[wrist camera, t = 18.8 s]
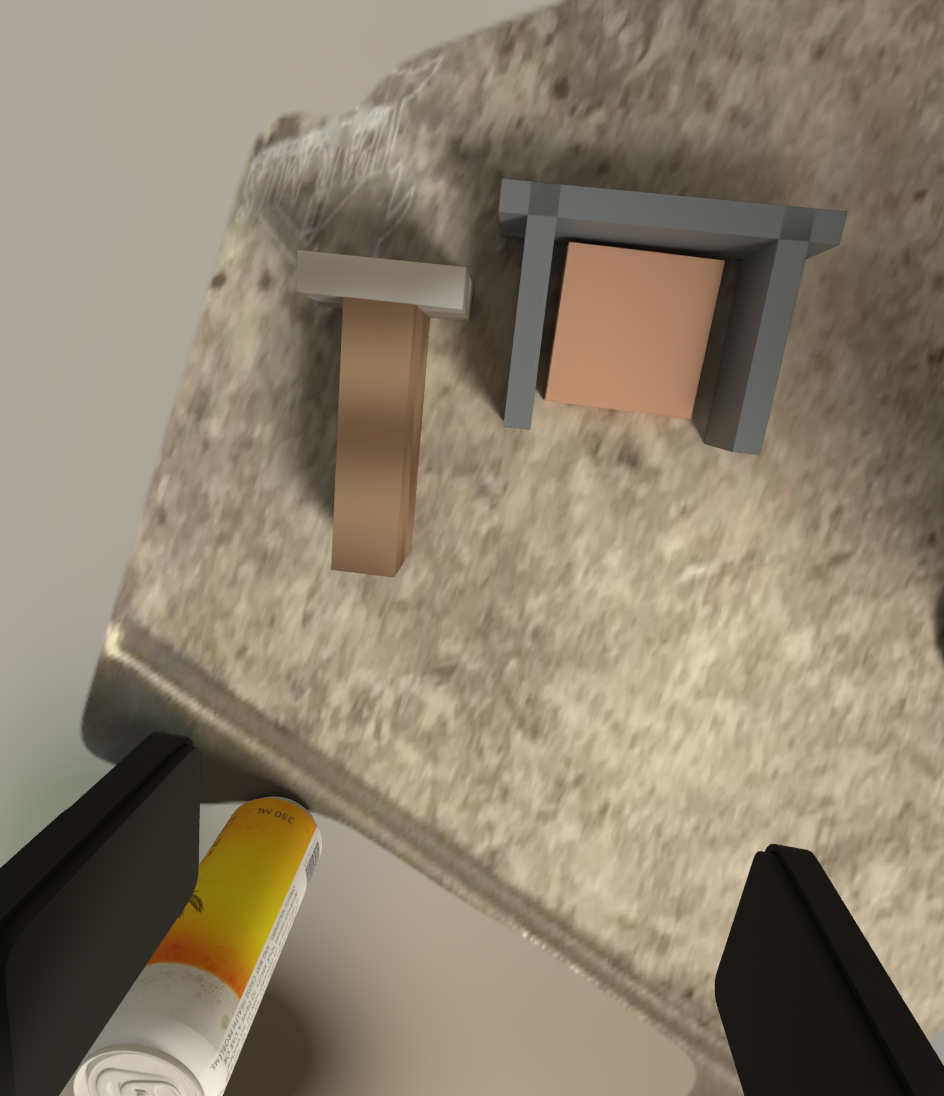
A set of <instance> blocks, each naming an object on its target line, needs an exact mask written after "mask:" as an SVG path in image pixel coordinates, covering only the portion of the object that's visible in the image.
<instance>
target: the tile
mask: <svg viewBox="0 0 944 1096" xmlns="http://www.w3.org/2000/svg"><path fill="white" fill-rule="evenodd" d="M724 263H725V261H724V260H716V259H707V258H699V257H691V256H682V255H674V254H666V253H657V252H649V251H641V250H632V249H624V248H616V247H607V246H599V245H591V244H582V243H574V242H569V244H568V247H567V249H566V255H565V262H564V269H563V275H562V282H561V289H560V295H559V302H558V309H557V315H556V322H555V328H554V335H553V342H552V348H551V355H550V362H549V368H548V375H547V382H546V388H545V395H544V400H545V401H553V402H561V403H569V404H576V405H584V406H592V407H600V408H608V409H615V410H623V411H631V412H639V413H647V414H654V415H662V416H670V417H678V418H686V419H691V416H692V411H693V407H694V402H695V397H696V393H697V388H698V384H699V379H700V374H701V370H702V365H703V360H704V356H705V351H706V346H707V342H708V337H709V333H710V328H711V323H712V319H713V314H714V309H715V305H716V300H717V295H718V291H719V286H720V281H721V277H722V272H723V268H724Z"/></svg>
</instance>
